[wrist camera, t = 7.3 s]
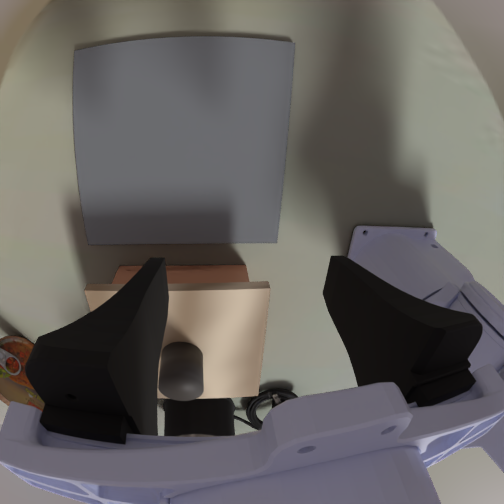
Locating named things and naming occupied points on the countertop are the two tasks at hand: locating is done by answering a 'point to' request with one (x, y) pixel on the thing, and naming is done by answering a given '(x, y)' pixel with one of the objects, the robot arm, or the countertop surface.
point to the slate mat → (182, 139)
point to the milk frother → (215, 414)
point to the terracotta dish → (191, 274)
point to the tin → (16, 372)
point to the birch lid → (207, 338)
